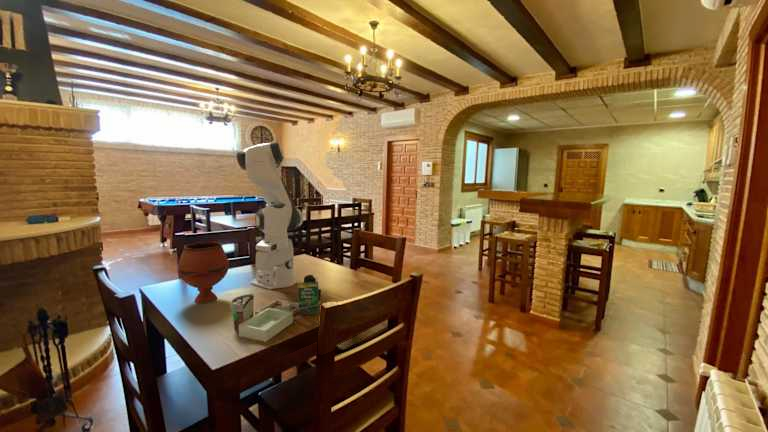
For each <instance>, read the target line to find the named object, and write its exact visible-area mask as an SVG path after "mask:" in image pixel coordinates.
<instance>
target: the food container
mask: <svg viewBox="0 0 768 432" xmlns="http://www.w3.org/2000/svg"><path fill="white" fill-rule="evenodd" d="M254 299H255V296H254V293H248V294H243V295H238V296H236V297H234V298H233V299H232V300H231V302H230V306H229V309H230V310H231V311H232V318H233V320H232V321H233V328H234V330H235V331H237V332H239V325H240V324H241V323H243V322H245V321H246V320H248V319H250V318H252V317H253V316H254Z"/></svg>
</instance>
